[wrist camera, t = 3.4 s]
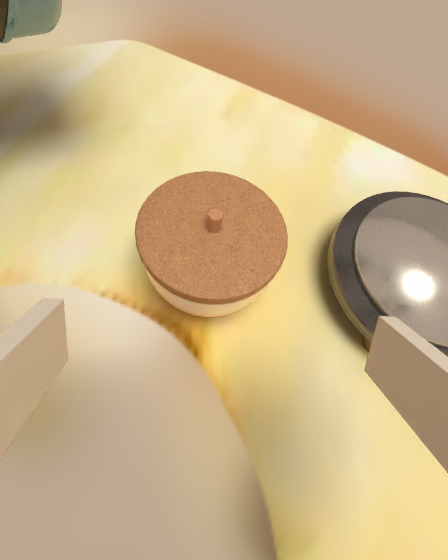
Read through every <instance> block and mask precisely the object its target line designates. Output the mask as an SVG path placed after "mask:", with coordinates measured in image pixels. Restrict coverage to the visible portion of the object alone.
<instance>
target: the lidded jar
mask: <svg viewBox="0 0 448 560" xmlns="http://www.w3.org/2000/svg"><path fill="white" fill-rule="evenodd" d="M135 237H136V245H137V249H138V252H139V255H140V258H141V261H142V262H143V264H144V268H145V271H146V273H147V275H148V277H149V279H150V281H151V283H152V284H153V286H154V288H155V289H156V290H157V291H158V293H159V294H160V295H161V296H162V297H163V298H164V299H165V300H166V301H167V302H168V303H170V304H171V305H173V306H174V307H176V308H177V309H179V310H181V311H183V312H186V313H189V314H192V315H195V316H202V317H218V316H224V315H228V314H231V313H234V312H236V311H238V310H240V309H242V308H243V307H245V306H247V305H248V304H250V303H251V302H252V301H253V300H255V299H256V298H257V297H258V296H259V295H260V294H261V292H262V291H263V290H264V289H265V288H266V286H267V285H268V283H269V282H270V281H271V280H272V279H273V278H274V276H275V275H276V273H277V272H278V270H279V269H280V267H281V265H282V263H283V260H284V258H285V255H286V250H287V230H286V225H285V222H284V219H283V217H282V215H281V213H280V211H279V209H278V208H277V206H276V205H275V204H274V202H273V201H272V200H271V199H270V198H269V197H268V196H267V195H266V194H265V193H264V192H263V191H262V190H261V189H259V188H258V187H256V186H255V185H253V184H252V183H250V182H248V181H246V180H244V179H242V178H239V177H237V176H233V175H230V174H226V173H220V172H208V171H204V172H194V173H189V174H184V175H181V176H178V177H175V178H173V179H171V180H169V181H167V182H165V183H164V184H162V185H161V186H160V187H158V188H157V189H156V190H155V191H154V192H152V193H151V194H150V195H149V196H148V198H147V199H146V201H145V202H144V203H143V205H142V207H141V209H140V211H139V213H138V217H137V221H136V227H135Z"/></svg>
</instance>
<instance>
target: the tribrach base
mask: <svg viewBox="0 0 448 560" xmlns="http://www.w3.org/2000/svg"><path fill="white" fill-rule="evenodd" d="M327 262H328V273H329V277H330V282H331V285H332V288H333V291H334V294H335V296H336V298H337V300H338V302H339V304H340V306H341V308H342V309H343V311H344V312H345V314H346V315H347V317H348V318H349V320H350V321H351V322H352V323H353V325H354V326H355V327H356V328H357V330H358V331H359V332H360V333H361V334H362V339H363V342H364V345H365V347H366V349H367V350H368V352H369V351H370V347H371V344H372V340H373V336H374V332H375V329H376V325H377V321H378V317H379V316H390V317H396V318H398V319H399V320H400V321H402V322H403V323H404V324H406V325H407V326H408V327H410V328H411V329H412V330H413V331H415V332H416V333H417V334H419V335H420V336H421V337H423V338H424V339H425V340H427V341H428V342H429V343H430V344H432V345H433V346H434V347H436V348H437V349H438V350H440V351H441V352H442V353H444V354H445V355H446V356H447V357H448V203H445V202H443V201H441V200H438V199H436V198H433V197H430V196H426V195H422V194H418V193H411V192H386V193H381V194H376V195H373V196H371V197H368V198H366V199H364V200H362V201H360V202H359V203H357V204H356V205H355V206H354V207H352V208H351V209H350V210H349V212H348V213H347V214H346V215H345V216H344V218H343V219H342V220H341V222H340V223H339V225H338V226H337V228H336V229H335V231H334V233H333V235H332V237H331V240H330V244H329V248H328V258H327Z"/></svg>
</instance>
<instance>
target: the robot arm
mask: <svg viewBox="0 0 448 560" xmlns="http://www.w3.org/2000/svg"><path fill="white" fill-rule="evenodd" d="M61 6H62V0H0V43H7V42H9V41H11V40H12V38H18V37H25V36H32V35H39V34H45V33H48V32H50V31H51V30H53V29H54V27H55V26H56V24H57V23H58V21H59V18H60V15H61ZM67 360H68V352H67V339H66V327H65V313H64V301H63V299H48V298H43V299H42V300H41V301H39V302H38V303H37V304H36V305H35V306H33V307H32V308H31V309H30V310H29V311H27V312H26V313H25V314H24V315H23V316H22V317H20V318H19V319H18V320H17V321H16V322H14V323H13V324H12V325H11V326H10V327H9V328H7V329H6V330H5V331H4V332H3V333H1V334H0V460H1V458H2V457H3V455H4V454H5V452H6V451H7V449H8V448H9V446H10V445H11V443H12V442H13V440H14V439H15V437H16V436H17V434H18V433H19V431H20V430H21V429H22V427H23V426H24V424H25V422H26V421H27V420H28V418H29V417H30V415H31V414H32V412H33V411H34V409H35V408H36V406H37V405H38V403H39V402H40V400H41V399H42V397H43V396H44V394H45V393H46V392H47V390H48V389H49V387H50V386H51V384H52V383H53V381H54V380H55V378H56V377H57V375H58V374H59V372H60V371H61V369H62V368H63V366H64V365H65V363H66V362H67ZM365 372H366V373H367V374H368V375H369V376H370V378H371V379H372V380H373V381H374V383H375V384H376V385H377V386H378V388H379V389H380V390H381V391H382V393H383V394H384V395H385V396H386V397H387V399H388V400H389V401H390V402H391V404H392V405H393V406H394V407H395V409H396V410H397V411H398V412H399V413H400V415H401V416H402V417H403V418H404V420H405V421H406V422H407V423H408V425H409V426H410V427H411V428H412V429H413V431H414V432H415V433H416V434H417V436H418V437H419V438H420V439H421V441H422V442H423V443H424V444H425V445H426V447H427V448H428V449H429V450H430V452H431V453H432V454H433V455H434V457H435V458H436V459H437V460H438V461H439V463H440V464H441V465H442V466H443V468H444V469H445V470H446V471H447V473H448V357H447V356H446V355H445V354H444V353H442V352H441V351H440V350H438V349H437V348H436V347H434V346H433V345H432V344H430V343H429V342H428V341H427V340H425V339H424V338H423V337H421V336H420V335H419V334H417V333H416V332H415V331H413V330H412V329H411V328H410V327H408V326H407V325H406V324H404V323H403V322H402V321H400V320H399V319H398V318H396V317H390V316H379V317H378V321H377V325H376V329H375V332H374V336H373V340H372V344H371V347H370V351H369V355H368V358H367V362H366V366H365Z"/></svg>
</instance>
